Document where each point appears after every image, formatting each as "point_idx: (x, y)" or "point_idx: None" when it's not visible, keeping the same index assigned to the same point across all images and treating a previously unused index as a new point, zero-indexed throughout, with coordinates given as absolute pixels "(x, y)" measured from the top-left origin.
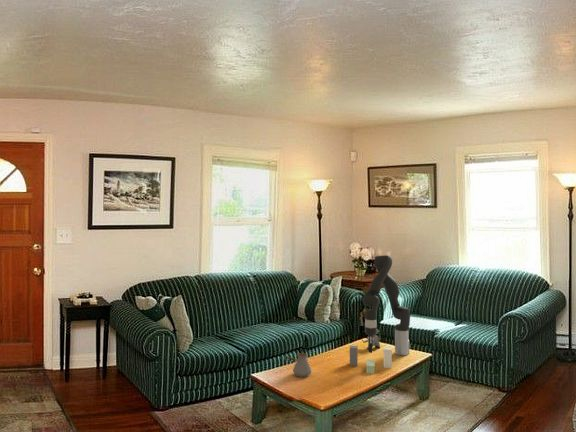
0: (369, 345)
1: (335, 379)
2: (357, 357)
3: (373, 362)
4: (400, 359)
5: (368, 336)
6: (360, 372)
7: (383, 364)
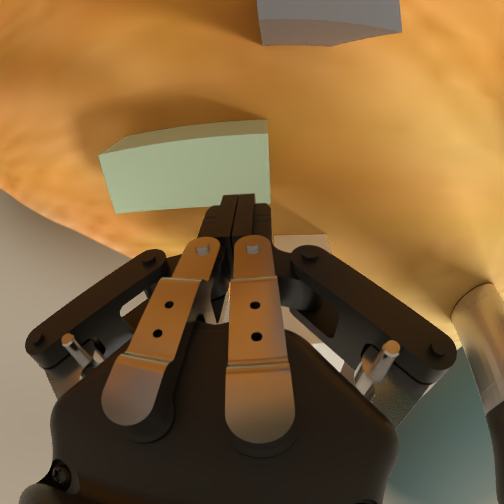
0: (115, 281)
1: (2, 23)
2: (333, 41)
3: (194, 199)
4: (411, 306)
5: (227, 423)
6: (123, 95)
7: (318, 238)
